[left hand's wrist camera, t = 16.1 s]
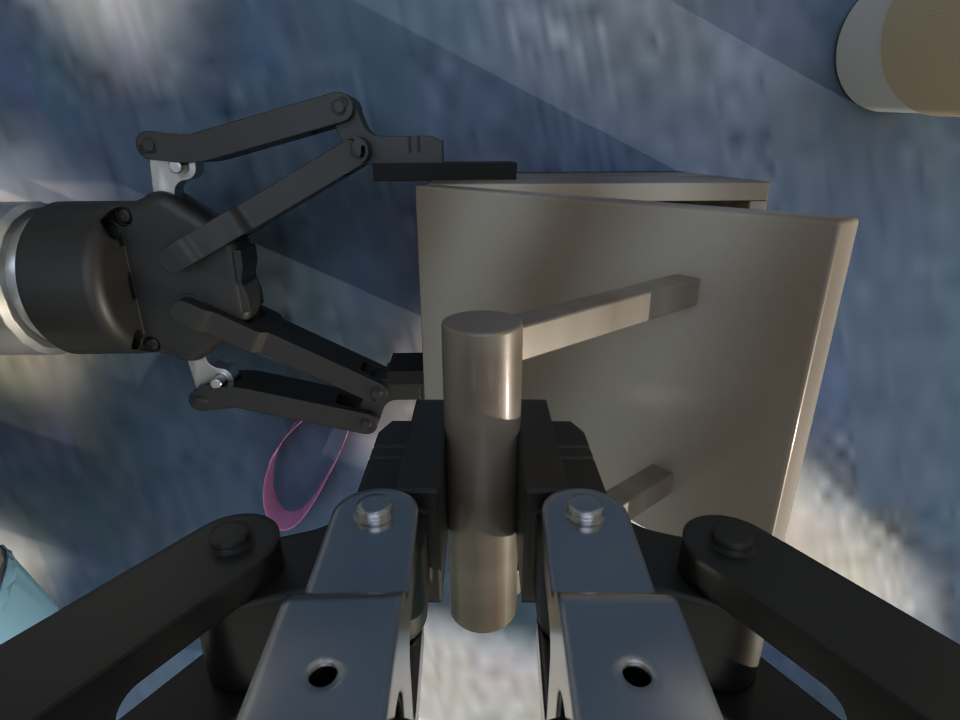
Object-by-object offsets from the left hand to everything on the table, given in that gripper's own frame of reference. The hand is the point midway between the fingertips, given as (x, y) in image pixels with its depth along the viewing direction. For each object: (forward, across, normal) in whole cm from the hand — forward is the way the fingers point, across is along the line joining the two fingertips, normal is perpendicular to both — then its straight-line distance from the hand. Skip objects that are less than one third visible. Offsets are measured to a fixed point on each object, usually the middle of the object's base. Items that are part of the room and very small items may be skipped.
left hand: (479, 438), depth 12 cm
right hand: (+17, -2, 0) cm, 17 cm away
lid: (+7, -3, 0) cm, 8 cm away
